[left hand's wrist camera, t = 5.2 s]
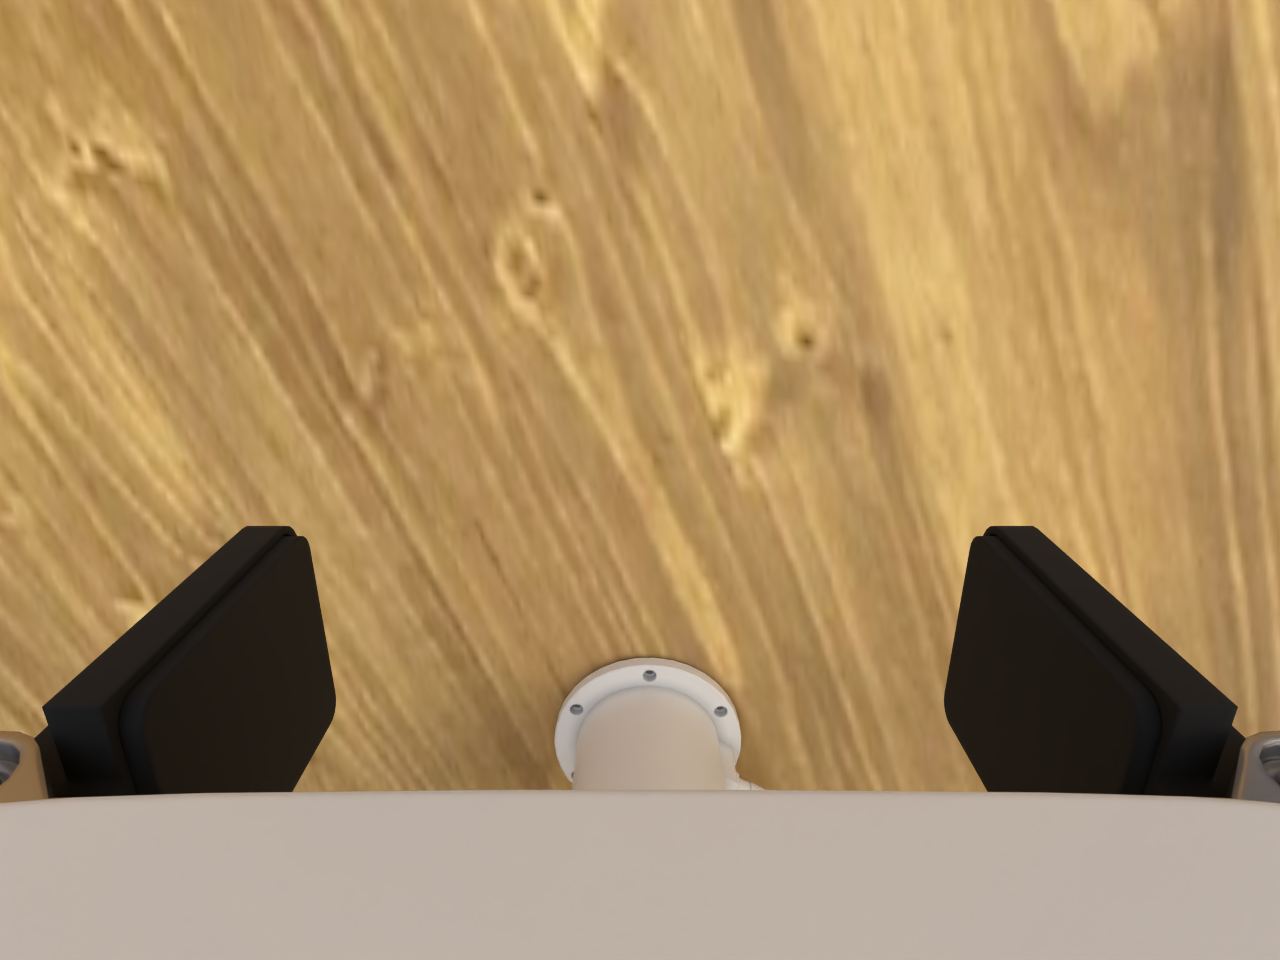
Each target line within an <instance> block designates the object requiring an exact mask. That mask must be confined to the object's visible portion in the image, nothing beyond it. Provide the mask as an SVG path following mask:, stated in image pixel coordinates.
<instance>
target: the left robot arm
mask: <svg viewBox="0 0 1280 960" xmlns="http://www.w3.org/2000/svg"><path fill="white" fill-rule="evenodd" d="M335 707H336V695H335V688H334V683H333V677H332V671H331V665H330V660H329V654H328V648H327V643H326V637H325V631H324V625H323V620H322V614H321V608H320V603H319V597H318V591H317V585H316V580H315V574H314V568H313V562H312V557H311V551H310V546H309V543H308V541H307V539H306V538H305V537H304V536H297V535H296V533H295V531H294V530H293V529H292V528H291V527H290V526H246V527H245V528H243V529H242V530H240V531H239V532H238V533H237V534H236V535H235V536H234V537H233V538H231V539H230V540H229V541H228V542H227V543H226V544H225V545H224V546H222V547H221V548H220V549H219V550H218V551H217V552H216V553H215V554H213V555H212V556H211V557H210V558H209V559H208V560H207V561H206V562H204V563H203V564H202V565H201V566H200V567H199V568H198V569H197V570H195V571H194V572H193V573H192V574H191V575H190V576H189V577H188V578H186V579H185V580H184V581H183V582H182V583H181V584H180V585H179V586H178V587H176V588H175V589H174V590H173V591H172V592H171V593H170V594H169V595H167V596H166V597H165V598H164V599H163V600H162V601H161V602H160V603H158V604H157V605H156V606H155V607H154V608H153V609H152V610H151V611H149V612H148V613H147V614H146V615H145V616H144V617H143V618H142V619H140V620H139V621H138V622H137V623H136V624H135V625H134V626H133V627H131V628H130V629H129V630H128V631H127V632H126V633H125V634H124V635H122V636H121V637H120V638H119V639H118V640H117V641H116V642H115V643H113V644H112V645H111V646H110V647H109V648H108V649H107V650H106V651H104V652H103V653H102V654H101V655H100V656H99V657H98V658H97V659H95V660H94V661H93V662H92V663H91V664H90V665H89V666H88V667H87V668H85V669H84V670H83V671H82V672H81V673H80V674H79V675H78V676H76V677H75V678H74V679H73V680H72V681H71V682H70V683H69V684H67V685H66V686H65V687H64V688H63V689H62V690H61V691H60V692H58V693H57V694H56V695H55V696H54V697H53V698H52V699H51V700H49V701H48V702H47V703H46V704H45V705H44V706H43V707H42V708H43V711H44V714H45V717H46V720H47V723H48V726H47V727H46V728H45V729H44V730H43V731H42V732H41V733H40V734H39V735H38V736H36V737H35V738H33V737H30V736H28V735H26V734H23V733H21V732H12V731H0V960H1280V731H1268V732H1259V733H1257V734H1254V735H1252V736H1250V737H1247V738H1245V737H1244V736H1242V735H1241V734H1240V733H1239V732H1238V731H1237V730H1236V729H1235V728H1234V727H1233V726H1232V723H1233V720H1234V717H1235V714H1236V711H1237V708H1238V707H1237V706H1236V705H1235V704H1234V703H1233V702H1232V701H1231V700H1229V699H1228V698H1227V697H1226V696H1225V695H1224V694H1223V693H1222V692H1220V691H1219V690H1218V689H1217V688H1216V687H1215V686H1214V685H1213V684H1211V683H1210V682H1209V681H1208V680H1207V679H1206V678H1205V677H1204V676H1202V675H1201V674H1200V673H1199V672H1198V671H1197V670H1196V669H1195V668H1193V667H1192V666H1191V665H1190V664H1189V663H1188V662H1187V661H1186V660H1185V659H1183V658H1182V657H1181V656H1180V655H1179V654H1178V653H1177V652H1176V651H1174V650H1173V649H1172V648H1171V647H1170V646H1169V645H1168V644H1167V643H1165V642H1164V641H1163V640H1162V639H1161V638H1160V637H1159V636H1158V635H1156V634H1155V633H1154V632H1153V631H1152V630H1151V629H1150V628H1149V627H1147V626H1146V625H1145V624H1144V623H1143V622H1142V621H1141V620H1140V619H1138V618H1137V617H1136V616H1135V615H1134V614H1133V613H1132V612H1131V611H1129V610H1128V609H1127V608H1126V607H1125V606H1124V605H1123V604H1122V603H1120V602H1119V601H1118V600H1117V599H1116V598H1115V597H1114V596H1113V595H1111V594H1110V593H1109V592H1108V591H1107V590H1106V589H1105V588H1104V587H1102V586H1101V585H1100V584H1099V583H1098V582H1097V581H1096V580H1095V579H1093V578H1092V577H1091V576H1090V575H1089V574H1088V573H1087V572H1086V571H1085V570H1083V569H1082V568H1081V567H1080V566H1079V565H1078V564H1077V563H1076V562H1074V561H1073V560H1072V559H1071V558H1070V557H1069V556H1068V555H1067V554H1065V553H1064V552H1063V551H1062V550H1061V549H1060V548H1059V547H1058V546H1056V545H1055V544H1054V543H1053V542H1052V541H1051V540H1050V539H1049V538H1047V537H1046V536H1045V535H1044V534H1043V533H1042V532H1041V531H1040V530H1038V529H1037V528H1035V527H1034V526H990V527H989V528H988V529H987V530H986V531H985V533H984V535H983V536H976V537H975V538H974V539H973V541H972V543H971V546H970V551H969V557H968V562H967V568H966V574H965V580H964V585H963V591H962V597H961V602H960V608H959V614H958V620H957V625H956V631H955V637H954V643H953V648H952V654H951V660H950V665H949V671H948V677H947V683H946V688H945V695H944V707H945V713H946V716H947V719H948V722H949V724H950V726H951V727H952V729H953V731H954V733H955V735H956V736H957V738H958V740H959V742H960V743H961V745H962V747H963V749H964V750H965V752H966V754H967V756H968V758H969V759H970V761H971V763H972V765H973V766H974V768H975V770H976V772H977V774H978V775H979V777H980V779H981V781H982V782H983V784H984V786H985V788H986V789H987V791H988V792H930V791H817V790H765V789H764V788H762V787H760V786H758V785H756V784H754V783H752V782H750V781H745V780H743V779H741V778H739V774H738V772H736V770H735V766H736V763H737V759H738V756H739V753H740V746H741V732H740V725H739V720H738V717H737V713H736V710H735V707H734V705H733V703H732V702H731V700H730V698H729V696H728V695H727V693H726V692H725V691H724V690H723V689H722V688H721V687H720V685H719V684H718V683H717V682H715V681H714V680H713V679H711V678H710V677H709V676H708V675H706V674H705V673H703V672H701V671H699V670H697V669H695V668H693V667H692V666H690V665H687V664H683V663H680V662H677V661H674V660H668V659H661V658H634V659H629V660H623V661H618V662H615V663H613V664H610V665H607V666H605V667H602V668H600V669H598V670H597V671H595V672H593V673H591V674H590V675H588V676H587V677H585V678H584V679H583V680H582V681H581V682H580V683H578V684H577V685H576V686H575V687H574V688H573V690H572V691H571V692H570V693H569V695H568V696H567V697H566V699H565V701H564V703H563V705H562V707H561V709H560V711H559V714H558V719H557V724H556V730H555V741H554V743H555V749H556V756H557V759H558V761H559V764H560V766H561V769H562V771H563V772H564V774H565V775H566V777H567V779H568V780H569V781H570V782H571V783H572V790H439V791H350V792H292V791H293V789H294V788H295V786H296V784H297V782H298V781H299V779H300V777H301V775H302V774H303V772H304V770H305V768H306V766H307V765H308V763H309V761H310V759H311V758H312V756H313V754H314V752H315V750H316V749H317V747H318V745H319V743H320V742H321V740H322V738H323V736H324V734H325V733H326V731H327V729H328V727H329V726H330V724H331V722H332V719H333V716H334V713H335Z"/></svg>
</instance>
